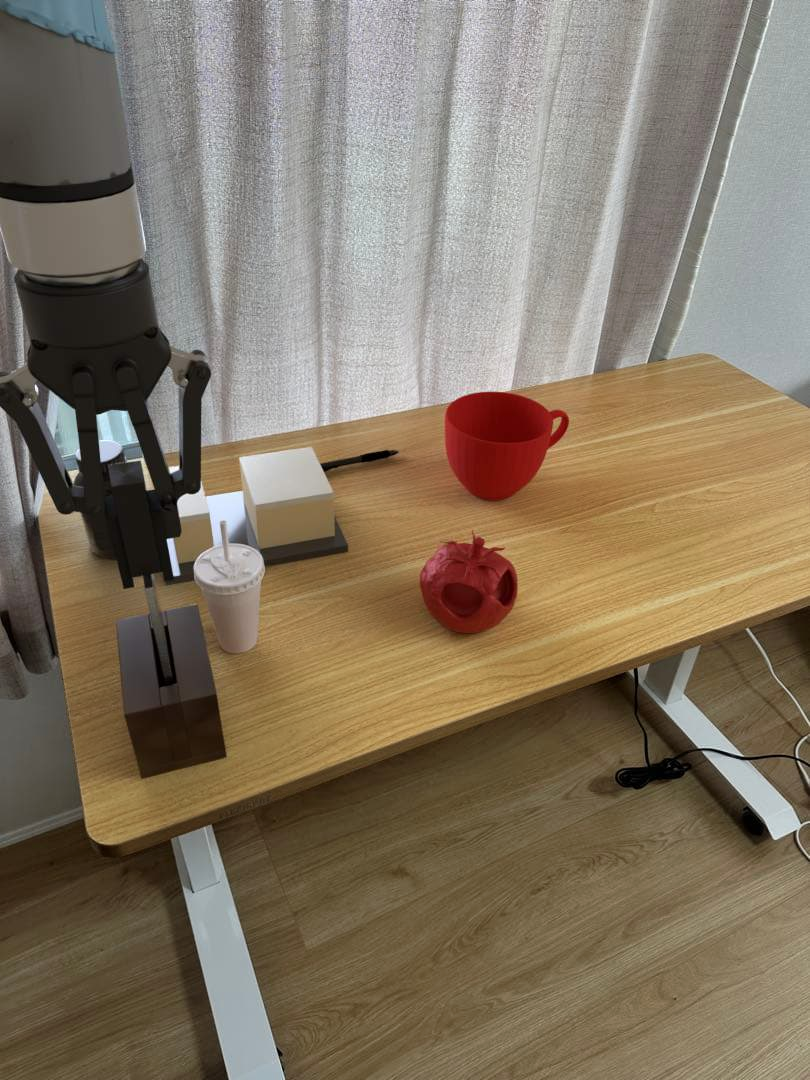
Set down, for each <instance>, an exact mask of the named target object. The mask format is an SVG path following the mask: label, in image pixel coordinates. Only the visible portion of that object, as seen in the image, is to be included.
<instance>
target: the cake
mask: <svg viewBox="0 0 810 1080" xmlns="http://www.w3.org/2000/svg"><path fill="white" fill-rule="evenodd" d="M238 461H239V471H240V479H241V480H240V481H241V489H242V490H241V491H243V499H244V503H245V506H246V509H247V512H248V515H249V518H250V521H251V524H252V527H253V530H254V533H255V536H256V540H257V543H258V546H259V549H263V548H269V547H275V546H280V545H286V544H291V543H297V542H303V541H308V540H314V539H319V538H325V537H331V536H335V525H334V516H335V491H334V490H333V488H332V486H331V484H330V482H329V480H328V477H327V476H326V473H325V472H324V471H323V469H322V467H321V465H320V463H321V462H320V461H319V459H318V457H317V455H316V453H315V451H314V449H313V447H312V446H308V447H307V446H306V447H300V448H294V449H293V448H292V449H286V450H280V451H279V450H278V451H272V452H267V453H259V454H252V455H245V456H239V457H238Z"/></svg>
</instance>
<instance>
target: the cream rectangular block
mask: <svg viewBox="0 0 810 1080" xmlns="http://www.w3.org/2000/svg"><path fill="white" fill-rule="evenodd" d="M168 468H169V471H170V474H171V473H173V472H175V471H177V470H179V465H176V466H168ZM177 507H178V512H179V518H180V524H181V530H182V532H181V535H180V537H177V538H173V539H174V544H175V549H176V555H177V560H178V564H179V563H185V562H191V561H196V559H197V558H198V557H199V556H200V555H201V554H202V553H203V552H205V551H206V550H208V549H210V548H212V547H214V541H213V534H212V527H211V520H210V512H209V509H208V505H207V501H206V493H205V490H204V486H203V482H202V480H201V488H200V490H199V492H198V493H196V494H185V495H183V496H181V497H180V498H179V500H178V502H177Z"/></svg>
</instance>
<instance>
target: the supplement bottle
mask: <svg viewBox="0 0 810 1080" xmlns="http://www.w3.org/2000/svg"><path fill="white" fill-rule="evenodd" d="M99 448H100V459H101V469H102V480H103V490H104V497H108V496H112V491H111V486H110V476H109V465H111V464H118V463H125V462H128V461H127V457H126V455H125V450H124V447H123V446H122V444H120V443H119V442H117V441H115V440H109V439H99ZM74 455H75V456H74V457H75V458H74V459H75V461H76V462H75V463H76V466H77V471H78V472H77V473H76V475H75V477H74V479H73V484H74V486H80V487H84V483H83V474H82V465H81V456H80V447H79V448H78V449H77V450H76V451H75V453H74ZM79 513H80V517H81V520H82V525H83V527H84V531H85V534H86V539H87V541H88V545H89V547H90V549H91V551H92V552H93V553H95V554H96V555H97V556H99V557H102V558H104V559H111V560H116V556H115V552H114V549H109V550H103V551H100V550H99V549H98V547H97V546H96V543H95V539H94V536H93V532H92V528H91V524H90V520H89V518H88V516H87V515H85V514H84V513H81V512H79Z"/></svg>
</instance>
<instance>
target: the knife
mask: <svg viewBox="0 0 810 1080" xmlns="http://www.w3.org/2000/svg"><path fill="white" fill-rule="evenodd" d="M109 476H110V486H111V491H112V496H113V500H114V504H115V509H116V513H117V517H118V522H119V526H120V530H121V535H122V539H123V543H124V548H125V552H126V556H127V561H128V565H129V569H130V574H131V577H132V578H133V579H135V578H138V577H142V580H143V588H144V593H145V596H146V602H147V606H148V612H149V613H150V616H151V620H152V625H153V629H154V634H155V638H156V643H157V647H158V652H159V656H160V661H161V665H162V670H163V675H164V679H165V683H169V682H173V678H172V672H171V665H170V659H169V652H168V646H167V640H166V633H165V628H164V623H163V619H162V614H161V611H162V609H161V605H160V600H159V599H160V598H159V595H158V590H157V585H156V581H155V576H154V575H156V574H162V568H161V563H160V558H159V553H158V548H157V543H156V538H155V533H154V528H153V523H152V518H151V513H150V507H149V501H148V495H147V490H148V489H147V484H146V479H145V474H144V469H143V463H142V461H141V459H139V460H133V461H127V462H125V463H118V464H111V465H109Z"/></svg>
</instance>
